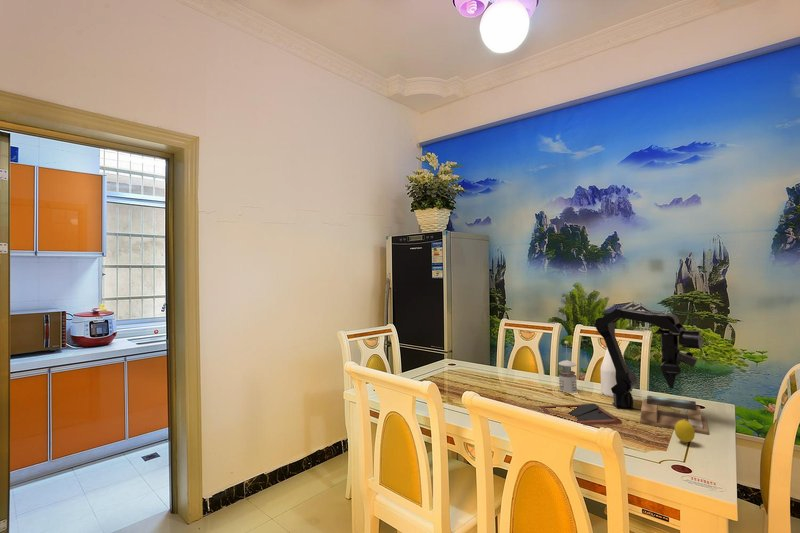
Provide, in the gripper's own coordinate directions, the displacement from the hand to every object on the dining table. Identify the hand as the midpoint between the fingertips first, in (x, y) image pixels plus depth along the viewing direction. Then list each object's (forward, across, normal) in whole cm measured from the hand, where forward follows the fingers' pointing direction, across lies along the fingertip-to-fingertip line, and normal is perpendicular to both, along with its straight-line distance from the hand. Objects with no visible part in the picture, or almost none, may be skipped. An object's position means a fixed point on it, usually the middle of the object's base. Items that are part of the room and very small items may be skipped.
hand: (671, 385), depth 158 cm
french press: (+13, +17, +42) cm, 47 cm away
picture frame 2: (+8, 0, 0) cm, 8 cm away
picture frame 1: (+14, -15, +32) cm, 38 cm away
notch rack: (+13, -4, 0) cm, 14 cm away
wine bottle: (+13, +21, +24) cm, 34 cm away
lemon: (+13, -25, -3) cm, 28 cm away
